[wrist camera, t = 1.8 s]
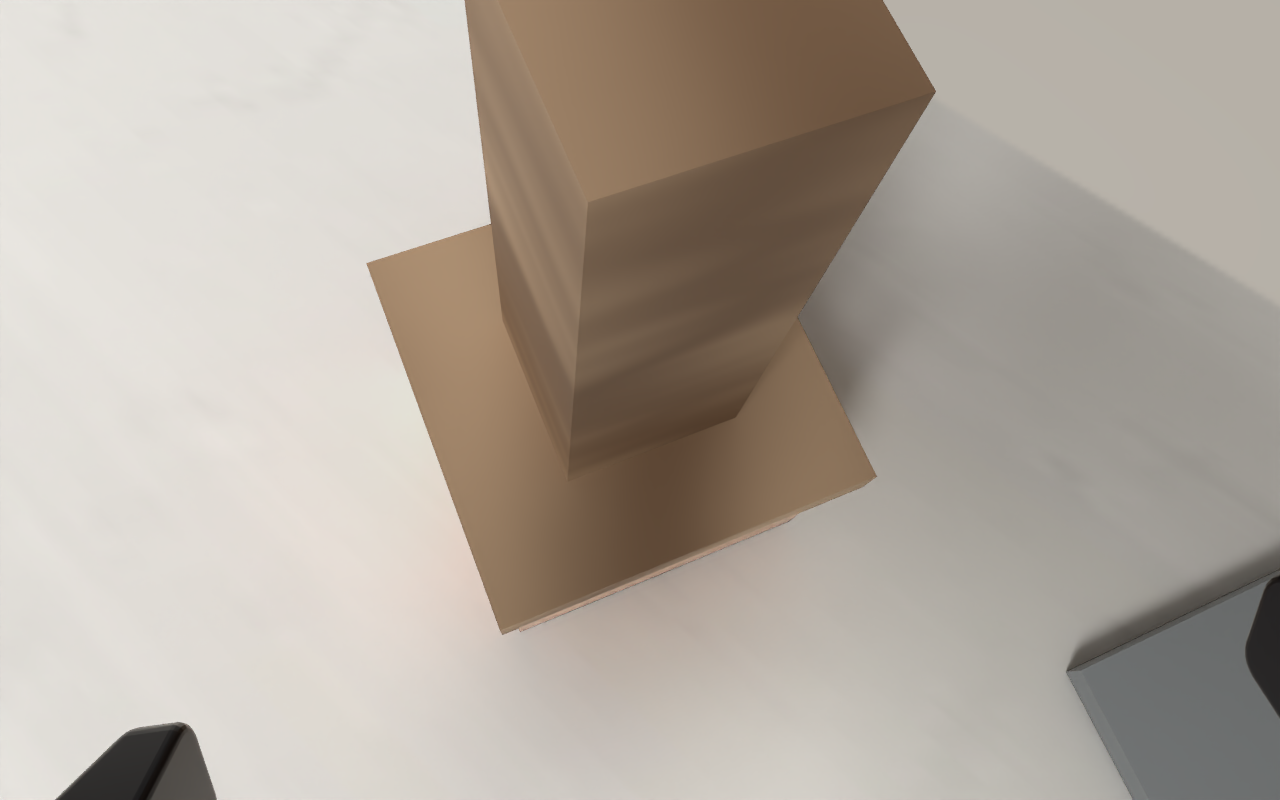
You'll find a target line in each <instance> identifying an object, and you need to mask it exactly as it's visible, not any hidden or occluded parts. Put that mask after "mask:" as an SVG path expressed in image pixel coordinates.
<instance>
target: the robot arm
mask: <svg viewBox="0 0 1280 800" xmlns="http://www.w3.org/2000/svg"><path fill="white" fill-rule="evenodd" d="M1245 659H1246V664H1247V666H1248V669H1249V671H1250V673H1251V675H1252V677H1253V679H1254V680H1255V682H1256V683H1257V685H1258V686H1259V688H1260V689H1261V691H1262V692H1263V694H1264V695H1265V697H1266V699H1267V700H1268V702H1269V703H1270V705H1271V706H1272V708H1273V709H1274V711H1275V712H1276V714H1277V715H1278V717H1279V719H1280V574H1278V575H1275V576H1273V577H1272V578H1271V579H1270V580H1269V581H1268V582H1267V584H1266V586H1265V588H1264V590H1263V593H1262V596H1261V599H1260V602H1259V605H1258V608H1257V611H1256V613H1255V616H1254V619H1253V622H1252V625H1251V628H1250V631H1249V634H1248V637H1247V640H1246V644H1245ZM55 800H217V798H216V794H215V791H214V788H213V785H212V782H211V779H210V776H209V773H208V770H207V767H206V764H205V761H204V758H203V755H202V752H201V749H200V746H199V743H198V740H197V737H196V735H195V733H194V731H193V730H192V728H191V727H190V726H189V725H187V724H185V723H181V722H176V723H169V724H161V725H154V726H147V727H139V728H135V729H132V730H130V731H128V732H126V733H125V734H124V735H122V736H121V737H120V738H119V739H118V740H117V741H116V742H115V743H114V744H112V745H111V746H110V747H109V748H108V749H107V750H106V751H105V752H104V753H103V754H102V755H101V756H100V757H99V758H98V759H97V760H96V761H95V762H94V763H93V764H92V765H91V766H90V767H89V768H88V769H87V770H86V771H84V772H83V773H82V774H81V775H80V776H79V777H78V778H77V779H76V780H75V781H74V782H73V783H72V784H71V785H70V786H69V787H68V788H67V789H66V790H65V791H64V792H63V793H62V794H61V795H60V796H59V797H58V798H56V799H55Z"/></svg>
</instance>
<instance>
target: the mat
mask: <svg viewBox="0 0 1280 800" xmlns="http://www.w3.org/2000/svg"><path fill="white" fill-rule="evenodd" d="M1278 574H1280V569H1279V570H1277V571H1275V572H1273V573H1271V574H1269V575H1267V576H1265V577H1263V578H1261V579H1259V580H1256V581H1254V582H1252V583H1250V584H1248V585H1246V586H1244V587H1242V588H1240V589H1238V590H1236V591H1234V592H1232V593H1229V594H1227V595H1225V596H1223V597H1221V598H1219V599H1217V600H1215V601H1213V602H1211V603H1209V604H1207V605H1204V606H1202V607H1200V608H1198V609H1196V610H1194V611H1192V612H1190V613H1188V614H1186V615H1184V616H1182V617H1180V618H1177V619H1175V620H1173V621H1171V622H1169V623H1167V624H1165V625H1163V626H1161V627H1159V628H1157V629H1155V630H1152V631H1150V632H1148V633H1146V634H1144V635H1142V636H1140V637H1138V638H1136V639H1134V640H1132V641H1130V642H1127V643H1125V644H1123V645H1121V646H1119V647H1117V648H1115V649H1113V650H1111V651H1109V652H1107V653H1105V654H1103V655H1100V656H1098V657H1096V658H1094V659H1092V660H1090V661H1088V662H1086V663H1084V664H1082V665H1080V666H1078V667H1075V668H1073V669H1071V670H1069V671H1067V674H1068V676H1069V678H1070V680H1071V682H1072V684H1073V685H1074V687H1075V689H1076V691H1077V693H1078V695H1079V697H1080V699H1081V701H1082V703H1083V705H1084V706H1085V708H1086V710H1087V712H1088V714H1089V716H1090V718H1091V720H1092V722H1093V724H1094V726H1095V727H1096V729H1097V731H1098V733H1099V735H1100V737H1101V739H1102V741H1103V743H1104V745H1105V747H1106V748H1107V750H1108V752H1109V754H1110V756H1111V758H1112V760H1113V762H1114V764H1115V766H1116V767H1117V769H1118V771H1119V773H1120V775H1121V777H1122V779H1123V781H1124V783H1125V785H1126V787H1127V788H1128V790H1129V792H1130V794H1131V796H1132V798H1133V800H1280V719H1279V717H1278V715H1277V714H1276V712H1275V711H1274V709H1273V708H1272V706H1271V705H1270V703H1269V702H1268V700H1267V699H1266V697H1265V695H1264V694H1263V692H1262V691H1261V689H1260V688H1259V686H1258V685H1257V683H1256V682H1255V680H1254V679H1253V677H1252V675H1251V673H1250V671H1249V669H1248V666H1247V664H1246V659H1245V644H1246V640H1247V637H1248V634H1249V631H1250V628H1251V625H1252V622H1253V619H1254V616H1255V613H1256V611H1257V608H1258V605H1259V602H1260V599H1261V596H1262V593H1263V590H1264V588H1265V586H1266V584H1267V582H1268V581H1269V580H1270V579H1271V578H1272V577H1273V576H1275V575H1278Z"/></svg>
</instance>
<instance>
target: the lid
mask: <svg viewBox="0 0 1280 800" xmlns="http://www.w3.org/2000/svg"><path fill="white" fill-rule="evenodd" d="M465 7H466V15H467V24H468V32H469V41H470V49H471V58H472V66H473V75H474V83H475V92H476V100H477V109H478V117H479V126H480V134H481V142H482V151H483V159H484V168H485V176H486V185H487V193H488V202H489V210H490V219H491V224H489V225H486V226H483V227H480V228H477V229H473V230H470V231H467V232H464V233H461V234H458V235H454V236H451V237H448V238H445V239H442V240H439V241H435V242H432V243H429V244H426V245H423V246H420V247H417V248H413V249H410V250H407V251H404V252H401V253H398V254H394V255H391V256H388V257H385V258H382V259H379V260H375V261H372V262H369V263H367V266H368V269H369V271H370V274H371V277H372V280H373V282H374V285H375V288H376V291H377V293H378V296H379V299H380V302H381V304H382V307H383V310H384V313H385V315H386V318H387V321H388V324H389V326H390V329H391V332H392V335H393V337H394V340H395V343H396V346H397V348H398V351H399V354H400V357H401V359H402V362H403V365H404V368H405V370H406V373H407V376H408V379H409V381H410V384H411V387H412V390H413V392H414V395H415V398H416V401H417V403H418V406H419V409H420V412H421V414H422V417H423V420H424V423H425V425H426V428H427V431H428V434H429V436H430V439H431V442H432V445H433V447H434V450H435V453H436V456H437V458H438V461H439V464H440V467H441V469H442V472H443V475H444V478H445V480H446V483H447V486H448V489H449V491H450V494H451V497H452V500H453V502H454V505H455V508H456V511H457V513H458V516H459V519H460V522H461V524H462V527H463V530H464V533H465V535H466V538H467V541H468V544H469V546H470V549H471V552H472V555H473V557H474V560H475V563H476V566H477V568H478V571H479V574H480V577H481V579H482V582H483V585H484V588H485V590H486V593H487V596H488V599H489V601H490V604H491V607H492V610H493V612H494V615H495V618H496V621H497V623H498V626H499V629H500V631H501V633H502V635H503V634H506V633H508V632H511V631H513V630H516V629H518V628H520V627H523V626H525V625H528V624H530V623H533V622H535V621H538V620H540V619H542V618H545V617H547V616H550V615H552V614H555V613H557V612H559V611H562V610H564V609H567V608H569V607H572V606H574V605H576V604H579V603H581V602H584V601H586V600H589V599H591V598H594V597H596V596H598V595H601V594H603V593H606V592H608V591H611V590H613V589H615V588H618V587H620V586H623V585H625V584H628V583H630V582H632V581H635V580H637V579H640V578H642V577H645V576H647V575H650V574H652V573H654V572H657V571H659V570H662V569H664V568H667V567H669V566H671V565H674V564H676V563H679V562H681V561H684V560H686V559H689V558H691V557H693V556H696V555H698V554H701V553H703V552H706V551H708V550H710V549H713V548H715V547H718V546H720V545H723V544H725V543H727V542H730V541H732V540H735V539H737V538H740V537H742V536H745V535H747V534H749V533H752V532H754V531H757V530H759V529H762V528H764V527H766V526H769V525H771V524H774V523H776V522H779V521H781V520H784V519H786V518H788V517H791V516H793V515H796V514H798V513H801V512H803V511H805V510H808V509H810V508H813V507H815V506H818V505H820V504H822V503H825V502H827V501H830V500H832V499H835V498H837V497H840V496H842V495H844V494H847V493H849V492H852V491H854V490H857V489H859V488H861V487H863V486H865V485H866V484H867V483H869V482H870V481H871V480H873V479H874V478H875V477H877V476H876V474H875V472H874V470H873V468H872V466H871V464H870V462H869V460H868V458H867V456H866V454H865V452H864V450H863V448H862V446H861V444H860V442H859V440H858V438H857V436H856V434H855V432H854V430H853V428H852V426H851V424H850V422H849V420H848V418H847V416H846V414H845V412H844V410H843V408H842V406H841V404H840V402H839V400H838V398H837V396H836V394H835V392H834V390H833V388H832V386H831V384H830V382H829V380H828V378H827V375H826V373H825V371H824V369H823V367H822V365H821V363H820V361H819V359H818V357H817V355H816V353H815V351H814V349H813V347H812V345H811V343H810V341H809V339H808V337H807V335H806V333H805V331H804V329H803V327H802V325H801V323H800V321H799V319H798V315H799V314H800V312H801V310H802V309H803V307H804V306H805V304H806V302H807V301H808V299H809V297H810V296H811V294H812V292H813V291H814V289H815V288H816V286H817V284H818V283H819V281H820V279H821V278H822V276H823V275H824V273H825V271H826V270H827V268H828V266H829V265H830V263H831V262H832V260H833V258H834V257H835V255H836V253H837V252H838V250H839V249H840V247H841V245H842V244H843V242H844V240H845V239H846V237H847V236H848V234H849V232H850V231H851V229H852V227H853V226H854V224H855V222H856V221H857V219H858V218H859V216H860V214H861V213H862V211H863V209H864V208H865V206H866V205H867V203H868V201H869V200H870V198H871V196H872V195H873V193H874V192H875V190H876V188H877V187H878V185H879V183H880V182H881V180H882V179H883V177H884V175H885V174H886V172H887V170H888V169H889V167H890V166H891V164H892V162H893V161H894V159H895V157H896V156H897V154H898V152H899V151H900V149H901V148H902V146H903V144H904V143H905V141H906V139H907V138H908V136H909V135H910V133H911V131H912V130H913V128H914V126H915V125H916V123H917V122H918V120H919V118H920V117H921V115H922V113H923V112H924V110H925V109H926V107H927V105H928V104H929V102H930V100H931V99H932V97H933V95H934V94H935V92H936V91H935V89H934V87H933V86H932V84H931V82H930V80H929V79H928V77H927V75H926V74H925V72H924V70H923V68H922V67H921V65H920V63H919V62H918V60H917V58H916V57H915V55H914V53H913V51H912V50H911V48H910V46H909V45H908V43H907V41H906V40H905V38H904V36H903V34H902V33H901V31H900V29H899V28H898V26H897V25H896V22H895V21H894V19H893V17H892V16H891V14H890V12H889V10H888V9H887V7H886V5H885V4H884V2H883V0H465Z"/></svg>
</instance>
